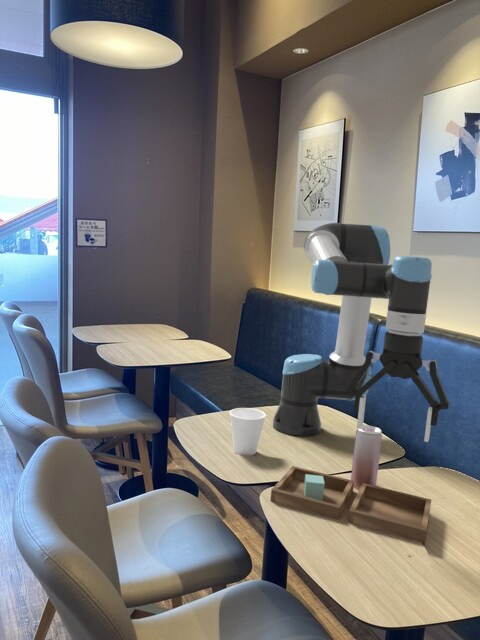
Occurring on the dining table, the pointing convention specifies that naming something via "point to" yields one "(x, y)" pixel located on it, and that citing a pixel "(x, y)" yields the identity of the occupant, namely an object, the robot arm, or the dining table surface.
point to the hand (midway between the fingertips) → (392, 433)
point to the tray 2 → (391, 512)
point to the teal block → (314, 487)
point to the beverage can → (366, 456)
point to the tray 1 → (293, 495)
